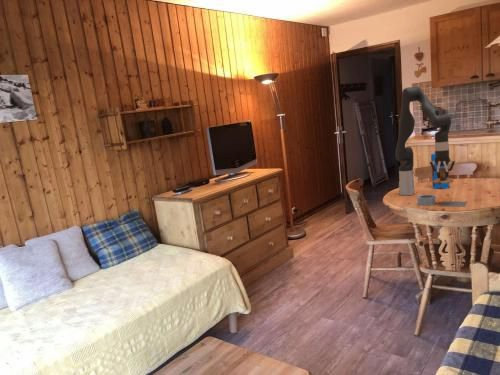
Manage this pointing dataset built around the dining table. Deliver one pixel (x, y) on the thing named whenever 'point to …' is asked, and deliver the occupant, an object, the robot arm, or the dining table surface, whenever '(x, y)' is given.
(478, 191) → the dining table surface
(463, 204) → the coaster
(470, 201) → the dining table surface
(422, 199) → the bowl
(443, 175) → the lid
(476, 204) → the dining table surface
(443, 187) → the blue box
